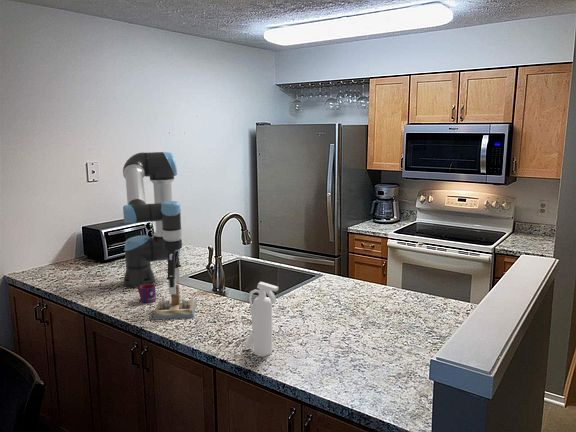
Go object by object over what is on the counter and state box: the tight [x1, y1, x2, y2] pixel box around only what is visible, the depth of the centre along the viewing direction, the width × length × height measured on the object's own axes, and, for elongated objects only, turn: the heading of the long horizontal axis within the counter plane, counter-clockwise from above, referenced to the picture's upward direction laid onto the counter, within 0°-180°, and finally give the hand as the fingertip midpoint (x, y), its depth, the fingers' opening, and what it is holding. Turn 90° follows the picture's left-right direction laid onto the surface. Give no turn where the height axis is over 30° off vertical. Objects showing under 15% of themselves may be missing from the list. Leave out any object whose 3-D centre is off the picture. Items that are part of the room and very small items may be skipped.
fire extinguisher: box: [245, 281, 279, 357], centre depth 157 cm, size 7×12×25 cm, turn 61°
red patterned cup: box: [137, 283, 157, 305], centre depth 207 cm, size 7×10×7 cm
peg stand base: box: [154, 283, 196, 316], centre depth 192 cm, size 15×11×10 cm
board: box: [153, 297, 198, 320], centre depth 195 cm, size 16×16×5 cm
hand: (174, 288), depth 194 cm, fingers open, 13 cm apart
